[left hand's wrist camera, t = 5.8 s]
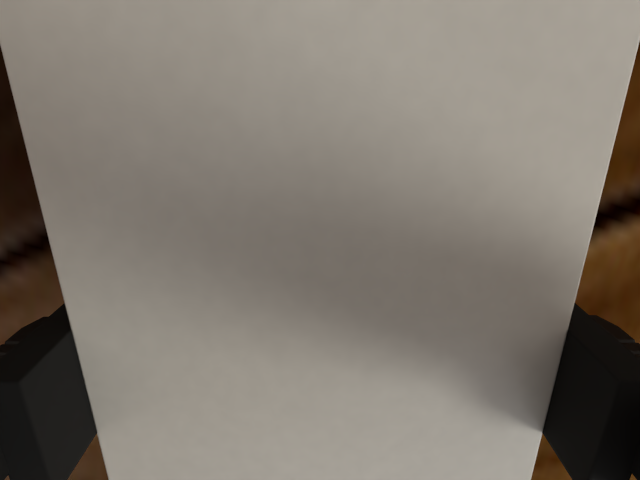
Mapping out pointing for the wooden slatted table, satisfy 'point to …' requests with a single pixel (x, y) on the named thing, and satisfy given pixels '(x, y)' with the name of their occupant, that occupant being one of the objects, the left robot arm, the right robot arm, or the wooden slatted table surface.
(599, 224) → the wooden slatted table surface
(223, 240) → the cabinet
